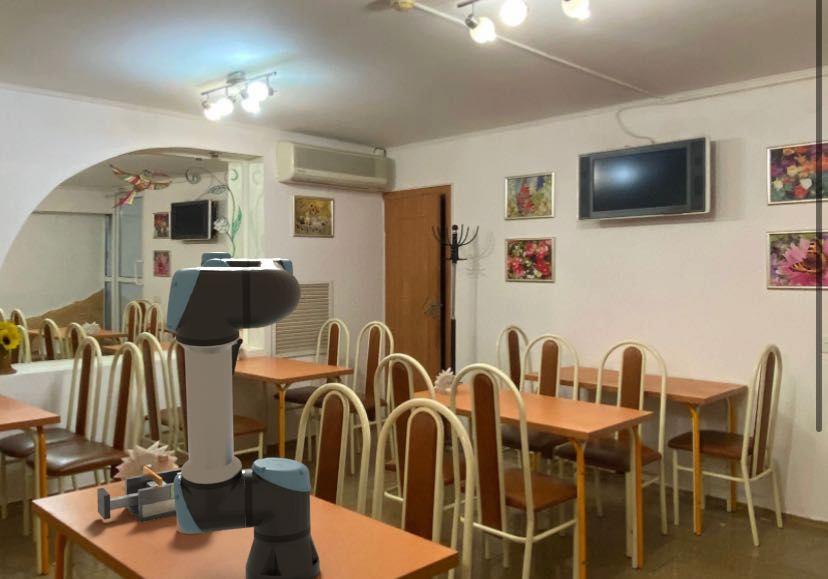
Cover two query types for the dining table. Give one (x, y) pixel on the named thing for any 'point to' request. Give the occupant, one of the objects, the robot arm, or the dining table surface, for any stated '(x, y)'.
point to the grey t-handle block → (124, 496)
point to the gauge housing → (152, 496)
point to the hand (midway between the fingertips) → (219, 404)
